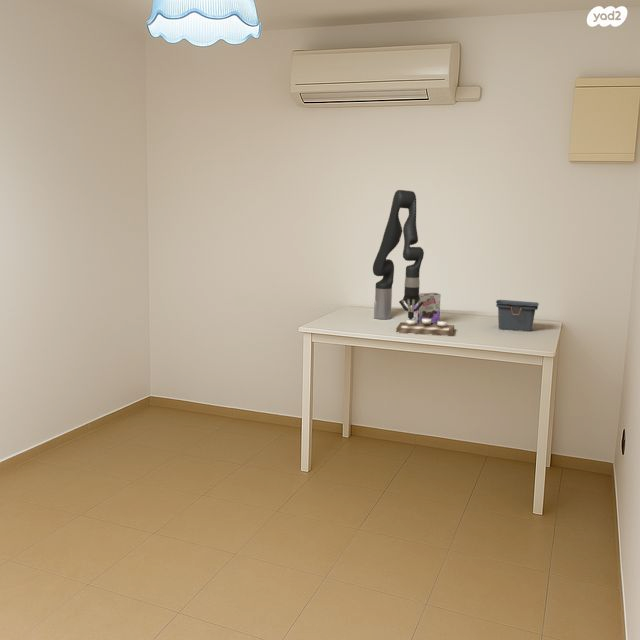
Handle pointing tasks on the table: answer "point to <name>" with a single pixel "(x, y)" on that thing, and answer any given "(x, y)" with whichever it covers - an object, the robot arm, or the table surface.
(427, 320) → the middle button
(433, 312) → the candy box
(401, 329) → the button board
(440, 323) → the right button
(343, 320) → the table surface
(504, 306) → the storage bin
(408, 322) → the left button
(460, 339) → the table surface
